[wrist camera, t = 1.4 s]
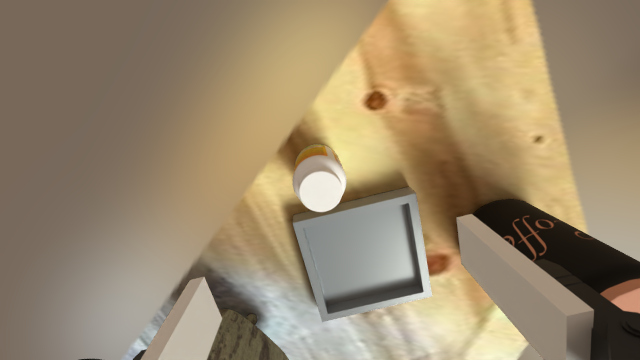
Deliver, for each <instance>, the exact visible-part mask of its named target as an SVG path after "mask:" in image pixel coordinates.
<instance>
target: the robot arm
mask: <svg viewBox="0 0 640 360" xmlns="http://www.w3.org/2000/svg"><path fill="white" fill-rule="evenodd" d="M456 219H457V228H458V237H459V245H460V254H461V263H462V265H463V266H464V267H465V269H466V270H467V271H468V272H469V273H470V274H471V276H472V277H473V278H474V279H475V280H476V281H477V283H478V284H479V285H480V286H481V287H482V288H483V290H484V291H485V292H486V293H487V294H488V295H489V297H490V298H491V299H492V300H493V301H494V302H495V304H496V305H497V306H498V307H499V308H500V309H501V311H502V312H503V313H504V314H505V315H506V316H507V318H508V319H509V320H510V321H511V322H512V323H513V325H514V326H515V327H516V328H517V329H518V330H519V332H520V333H521V334H522V335H523V336H524V337H525V339H526V340H527V341H528V342H529V343H530V344H531V346H532V347H533V348H534V349H535V350H536V351H537V352H538V354H539V355H540V356H541V357H542V358H543V360H640V313H637V312H629V311H623V310H622V309H620V308H619V307H618V306H616V305H615V304H613V303H612V302H610V301H609V300H608V299H606V298H605V297H603V296H602V295H601V294H599V293H598V292H596V291H595V290H594V289H592V288H591V287H589V286H588V285H587V284H585V283H583V282H582V281H581V280H580V279H578V278H577V277H575V276H573V275H572V274H571V273H570V272H568V271H567V270H566V269H564V268H563V267H561V266H560V265H558V264H555V263H553V262H550V261H548V260H545V259H541V260H537V261H531V260H530V259H528V258H527V257H526V256H525V255H523V254H522V253H521V252H519V251H518V250H517V249H516V248H514V247H513V246H512V245H511V244H509V243H508V242H507V241H505V240H504V239H503V238H502V237H500V236H499V235H498V234H497V233H495V232H494V231H493V230H491V229H490V228H489V227H488V226H486V225H485V224H484V223H483V222H481V221H480V220H479V219H477V218H476V217H475V216H474V215H472V214H469V215H465V216H461V217H456ZM221 321H222V317H221V315H220V312H219V310H218V308H217V305H216V303H215V301H214V298H213V296H212V294H211V291H210V289H209V287H208V284H207V282H206V280H205V277H200V278H196V279H192V280H190V281H189V282H188V284H187V286H186V287H185V289H184V290H183V292H182V294H181V295H180V297H179V299H178V300H177V302H176V303H175V305H174V307H173V308H172V310H171V311H170V313H169V315H168V316H167V318H166V319H165V321H164V323H163V324H162V326H161V327H160V329H159V331H158V332H157V334H156V336H155V337H154V339H153V340H152V342H151V344H150V345H149V347H148V348H147V349H146V350H142V351H141V352H140V353H139V354H138V355H137V356H136V357H135V358H134V359H133V360H207V358H208V355H209V352H210V350H211V347H212V344H213V342H214V339H215V336H216V334H217V331H218V328H219V326H220V323H221ZM81 360H100V359H81Z"/></svg>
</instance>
